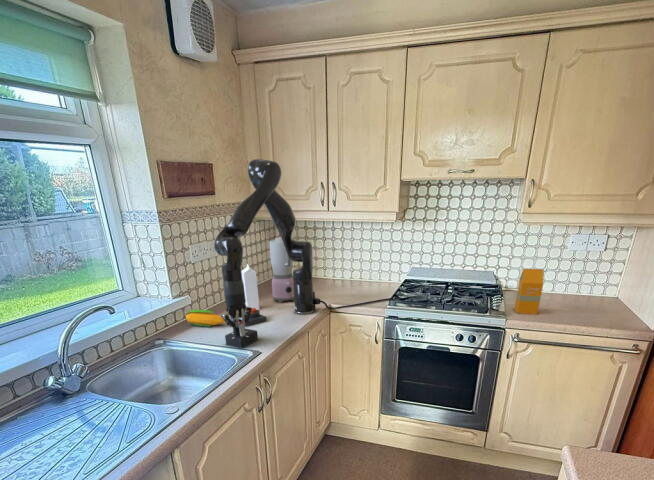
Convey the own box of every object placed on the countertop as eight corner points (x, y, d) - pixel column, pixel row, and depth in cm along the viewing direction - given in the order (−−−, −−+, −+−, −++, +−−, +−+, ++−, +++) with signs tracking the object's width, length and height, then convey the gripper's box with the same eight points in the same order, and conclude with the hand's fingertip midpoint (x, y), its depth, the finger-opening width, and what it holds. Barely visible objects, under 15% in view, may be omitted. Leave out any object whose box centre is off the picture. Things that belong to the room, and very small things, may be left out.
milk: (257, 306, 208) (253, 263, 199) (259, 309, 203) (255, 265, 194) (245, 308, 206) (240, 264, 197) (247, 311, 201) (242, 266, 192)
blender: (269, 298, 221) (264, 237, 208) (289, 295, 227) (286, 235, 213) (281, 305, 209) (276, 241, 195) (302, 302, 214) (299, 239, 201)
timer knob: (234, 334, 160) (232, 321, 158) (237, 333, 162) (236, 320, 159) (241, 336, 158) (240, 323, 156) (245, 335, 159) (243, 322, 157)
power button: (253, 310, 190) (253, 307, 189) (257, 312, 187) (257, 308, 186) (247, 312, 187) (246, 308, 187) (251, 314, 185) (250, 310, 184)
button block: (256, 316, 193) (255, 308, 191) (266, 321, 187) (265, 313, 185) (235, 322, 187) (234, 313, 185) (245, 326, 180) (244, 318, 179)
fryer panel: (242, 336, 169) (241, 327, 167) (260, 340, 165) (259, 330, 163) (223, 346, 160) (222, 336, 158) (242, 350, 156) (241, 340, 154)
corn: (190, 305, 185) (229, 308, 180) (193, 320, 189) (231, 324, 183) (180, 311, 179) (220, 314, 173) (184, 327, 182) (223, 330, 177)
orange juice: (537, 314, 190) (546, 271, 181) (517, 313, 191) (524, 270, 183) (533, 309, 197) (541, 267, 188) (514, 308, 198) (521, 267, 190)
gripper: (225, 297, 145) (232, 342, 153) (254, 288, 155) (259, 331, 162) (212, 294, 150) (219, 338, 157) (241, 286, 159) (247, 328, 167)
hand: (239, 334), depth 160 cm, fingers closed on timer knob, 2 cm apart
